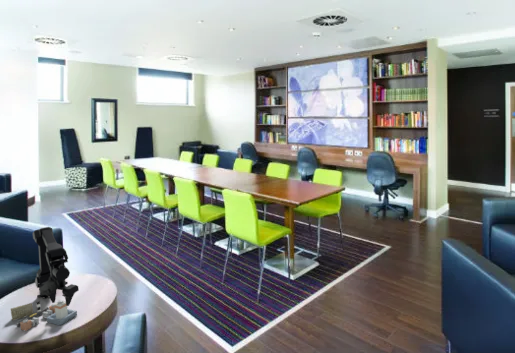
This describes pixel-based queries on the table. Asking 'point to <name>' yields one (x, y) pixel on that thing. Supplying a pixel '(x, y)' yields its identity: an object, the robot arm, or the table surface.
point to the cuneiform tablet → (24, 311)
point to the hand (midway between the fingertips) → (60, 304)
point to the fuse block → (45, 312)
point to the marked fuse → (61, 309)
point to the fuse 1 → (25, 324)
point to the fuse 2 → (52, 308)
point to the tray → (59, 322)
